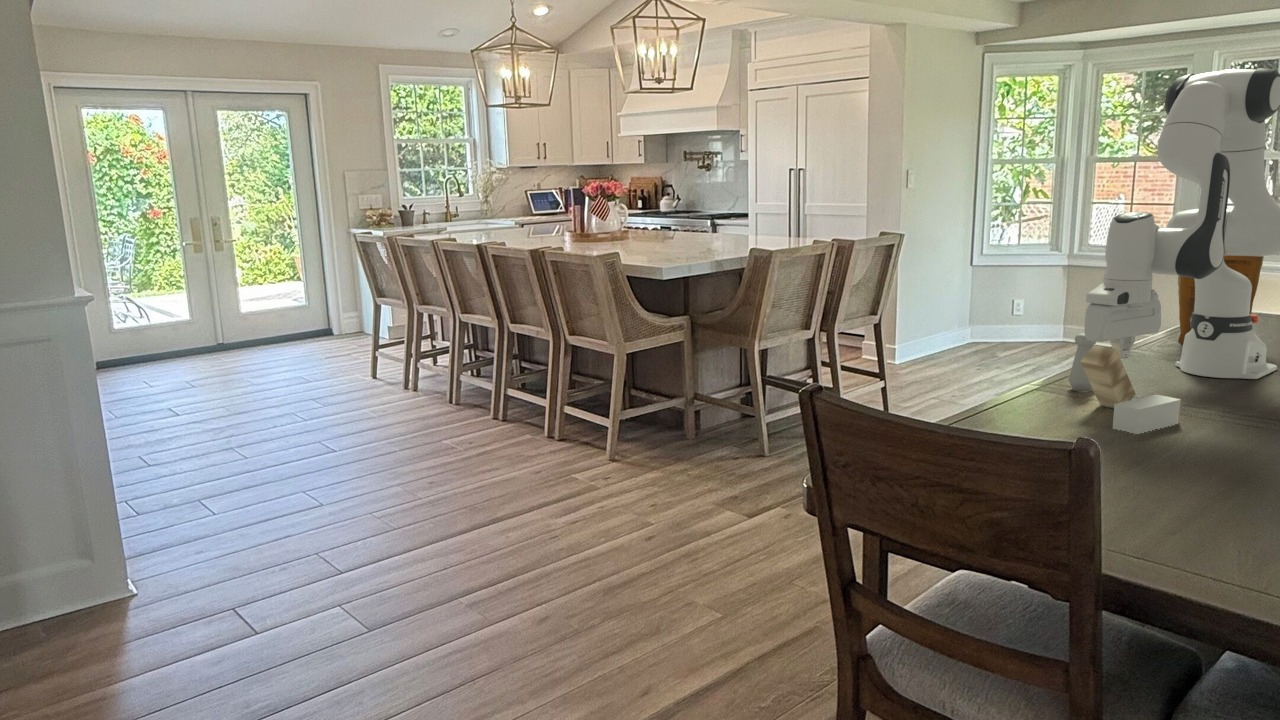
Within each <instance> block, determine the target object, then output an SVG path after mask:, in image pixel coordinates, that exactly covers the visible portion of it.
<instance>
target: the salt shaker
mask: <svg viewBox="0 0 1280 720" xmlns="http://www.w3.org/2000/svg"><path fill="white" fill-rule="evenodd" d="M1074 343H1075V344H1076V345H1077V347H1076V351H1075V355H1074V358H1073V361H1072V365H1071V368H1070V369H1071V370H1070V372H1069V376H1068V382H1069V384H1070V386H1071V389H1072V391H1074V392H1079V393H1089V392H1092V391H1093V388H1092V386H1091V384H1090V382H1089V380H1088V377H1087V375H1086V373H1085V371H1084V369H1083V366H1082V364H1081V362H1080V361H1081V360H1082V359H1083V357H1084V356H1085V355H1086V354H1087V353H1088V352H1089V351H1090V349H1091V348H1092V347H1093V346H1094V345H1096V344H1097V342H1096V341H1090V340H1087V338H1086V336H1085V333H1084V332H1081V333H1077V334H1076V335H1075V336H1074Z"/></svg>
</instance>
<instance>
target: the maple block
mask: <svg viewBox="0 0 1280 720" xmlns="http://www.w3.org/2000/svg"><path fill="white" fill-rule="evenodd" d="M1122 361H1123V360H1122V359H1120V356H1119V354H1118V351H1117V349H1113V348H1112V347H1106V346H1102V345H1096V344H1095V345H1093V347H1092V348H1091V349H1090V351H1089V352H1088V353H1087V354H1086V355H1085V356H1084V357H1083V359H1082V360H1081V361H1080V362H1081V364H1082V366H1083V369H1084V371H1085V373H1086V375H1087V377H1088V380H1089V382H1090V384H1091V386H1092V388H1093V390H1092V391H1093V393H1094V395H1095V397H1096V400H1097V401H1098V404H1099V406H1100V405H1101V406H1102V407H1105V408H1110V409H1113V410H1114V404H1117V403H1121V402H1125V401H1130V400H1133V398H1135V396H1136V395H1137V394H1136V391H1135V390H1134V386H1133V384H1132V383H1131V380H1130V377H1129V375H1128V373H1127V370H1126V368H1125V366H1124V364H1123V362H1122Z"/></svg>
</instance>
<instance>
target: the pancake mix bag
mask: <svg viewBox="0 0 1280 720" xmlns="http://www.w3.org/2000/svg"><path fill="white" fill-rule="evenodd" d="M1264 257H1265V256H1224V262H1225V264H1226V265H1227V266H1228V267H1229V268H1230V269H1232V270H1235V271H1237V272H1239V273H1241V274H1243V275H1244V276H1246V277H1247V278H1248V279H1249V280H1250V282H1251V285H1252V293H1251V302H1250V311H1249V314H1251V315H1252V311H1253V306H1254V305H1253V304H1254V299H1255V296H1256V294H1257V291H1258V286H1259V282H1260V281H1259V280H1260V274H1261V269H1262V268H1263V263H1264ZM1177 276H1178V277H1177V287H1178V288H1177V289H1178V291H1177V293H1178V295H1177V296H1178V306H1179V312H1178V315H1179V316H1178V319H1179V329H1180V330H1179V331H1180V334H1179V336H1178V340H1177V342H1178V343H1179V344H1184V339H1185V335H1186V334H1187V333H1188V332H1190V331H1191V329H1192V328H1191V327H1190V324H1191V321H1190V319H1191V316H1192V313H1193V312H1194V305H1195V281H1194V278H1189V277H1182V276H1179V275H1177Z"/></svg>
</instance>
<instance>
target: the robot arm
mask: <svg viewBox="0 0 1280 720" xmlns="http://www.w3.org/2000/svg"><path fill="white" fill-rule="evenodd" d="M1165 93H1166V94H1165V97H1164V109H1165V113H1166V119H1165V121H1164V124H1163V128H1162V130H1161V133H1160V135H1159V139H1158V143H1157V148H1156V154H1157V158H1158V160H1159V162H1160V163H1161V165H1162V166H1163V167H1164V168H1165V169H1166V170H1167V171H1169V172H1170V173H1172V174H1173V175H1175V176H1178V177H1179V178H1183V179H1186V180H1188V181H1190V182H1193V183H1195V184H1197V185H1199V187H1200V193H1199V201H1198V208H1194V209H1185V210H1181V211H1177V212H1176V213H1174V214H1173V216H1172V217H1171V218H1170V219H1169V221H1168V222H1167V225H1166V227H1164V226H1160V225H1158V224H1157V223H1156V222H1155V216H1154V215H1153V213H1150V212H1147V211H1131V212H1123V213H1120V214H1117V215H1115V216H1114V217H1113V218H1112V220H1111V222H1110V225H1109V228H1108V232H1107V237H1106V243H1105V244H1106V245H1105V255H1104V258H1105V262H1106V268H1105V272H1104V274H1103V280H1102V283H1100V284H1099V285H1097V286H1096V287H1095V288H1093V289H1092V290H1090V291H1088V292H1087V293H1086V295H1085V296H1086V297H1085V301H1086V303H1087V304H1088V306H1087V307H1086V310H1085V315H1084V327H1083V328H1084V329H1083V330H1084V331H1083V333H1085V336H1086V338H1087V340H1090V341H1096V343H1104V342H1109V343H1110V345H1111V348H1113V349H1117V351H1118V354H1119V356H1120V359H1121V360H1122V359H1128V358H1130V355H1131V350H1132V348H1133V345H1134V344H1135V342H1136V337H1139V336H1144V335H1150V334H1155V333H1158V332H1159V330H1161V327H1162V326H1161V325H1162V306H1161V300H1160V299H1159V294H1158V293H1157V291H1155V289H1154V288H1153V289H1152V287H1153V286H1152V285H1153V274H1156V275H1165V276H1166V275H1167V276H1168V275H1169V276H1178V275H1179V276H1182V277H1189V278H1194V281H1195V305H1194V312H1193V313H1192V316H1191V319H1190V321H1191V324H1190V327H1191V328H1192V329H1191V331H1190V332H1188V333H1187V334H1186V335H1185V339H1184V344H1183V345H1182V349H1181V350H1182V351H1181V356H1180V360H1177V361H1176V362H1175V367H1177V368H1180V369H1179V370H1181V372H1184V373H1187V374H1191V375H1196V376H1200V377H1207V378H1208V377H1210V378H1217V379H1218V378H1219V379H1248V380H1257V379H1260V378H1262V377H1265V376H1266V375H1269V374H1270V373H1272V372H1275V371H1277V370H1278V365H1276V364H1273V363H1270V362H1267V350H1268V349H1267V345H1266V343H1264V342H1263V341H1262V340H1261V339H1260V338H1259V337H1258V336H1257V335H1256V333H1254V331H1253V328H1254V327H1253V324H1258V323H1259V320H1260V316H1259V315H1258V314H1252V313H1251V314H1249V311H1250V302H1251V293H1252V285H1251V282H1250V280H1249V279H1248V278H1247V277H1246V276H1244V275H1243V274H1241V273H1239V272H1237V271H1235V270H1232V269H1230V268H1229V267H1228V266H1227V265H1226V264H1225V262H1224V256H1264V257H1266V256H1275V255H1280V204H1278V203H1277V202H1276V201H1275V200H1274V198H1273V197H1272V195H1271V194H1270V192H1269V190H1268V187H1267V185H1266V181H1265V180H1266V179H1265V153H1266V152H1265V150H1266V149H1265V148H1266V120H1267V119H1269V118H1271V117H1272V116H1273V115H1274V114H1275V113H1276V112H1277V111H1278V110H1279V109H1280V72H1279V71H1277V70H1275V69H1272V68H1263V67H1258V68H1257V69H1253V68H1252V69H1249V68H1247V69H1246V68H1232V69H1223V70H1218V71H1216V70H1215V71H1210V72H1203V73H1198V74H1195V73H1190V74H1184V75H1183V76H1180V77H1177V78H1176V79H1175V80H1174V81H1173V82H1171V84H1170V85H1169V87H1168V89H1167V90H1166V92H1165ZM1229 200H1230V201H1231V202H1232V204H1233V207H1231V208H1230V207H1228V202H1229ZM1155 223H1156V224H1155Z"/></svg>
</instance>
